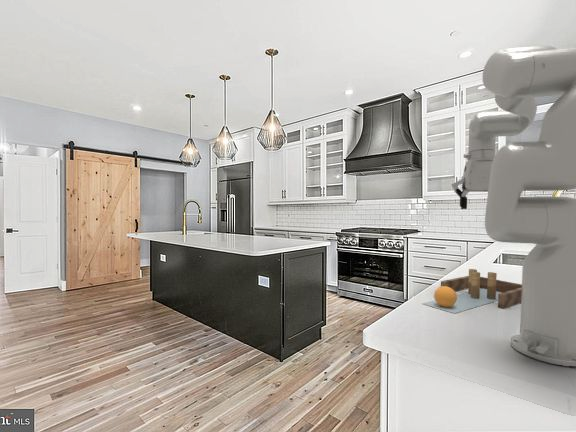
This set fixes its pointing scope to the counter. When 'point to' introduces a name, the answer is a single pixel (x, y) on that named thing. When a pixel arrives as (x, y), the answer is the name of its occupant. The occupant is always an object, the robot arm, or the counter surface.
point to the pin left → (470, 279)
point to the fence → (505, 299)
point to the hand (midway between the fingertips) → (479, 209)
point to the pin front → (475, 285)
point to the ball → (445, 296)
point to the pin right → (491, 285)
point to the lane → (465, 302)
